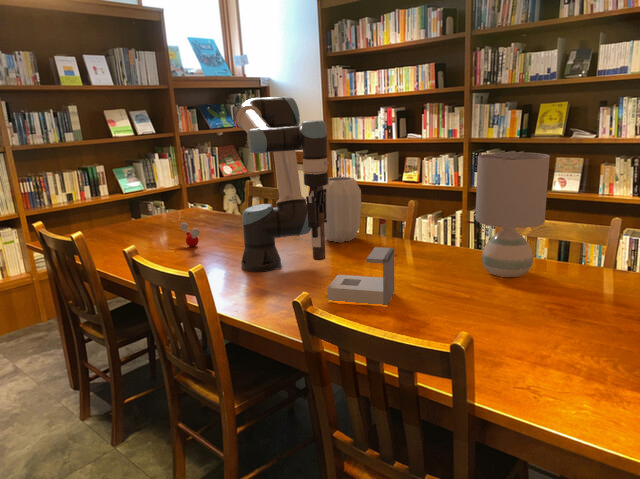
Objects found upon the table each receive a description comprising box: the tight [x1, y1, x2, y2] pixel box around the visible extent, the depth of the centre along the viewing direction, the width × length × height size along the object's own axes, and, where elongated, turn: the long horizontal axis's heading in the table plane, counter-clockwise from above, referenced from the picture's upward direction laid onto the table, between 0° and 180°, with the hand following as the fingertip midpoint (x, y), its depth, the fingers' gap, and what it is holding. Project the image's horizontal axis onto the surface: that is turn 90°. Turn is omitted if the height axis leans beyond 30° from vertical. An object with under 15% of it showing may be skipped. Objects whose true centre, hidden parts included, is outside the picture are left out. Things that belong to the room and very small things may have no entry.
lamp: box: [474, 152, 551, 278], centre depth 166 cm, size 22×22×40 cm
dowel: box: [312, 212, 326, 261], centre depth 159 cm, size 4×4×15 cm
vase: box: [323, 176, 362, 243], centre depth 221 cm, size 20×20×27 cm
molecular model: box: [179, 222, 201, 248], centre depth 222 cm, size 18×6×10 cm, turn 41°
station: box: [326, 246, 395, 305], centre depth 154 cm, size 19×12×15 cm, turn 72°
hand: (318, 244), depth 160 cm, fingers closed on dowel, 4 cm apart
